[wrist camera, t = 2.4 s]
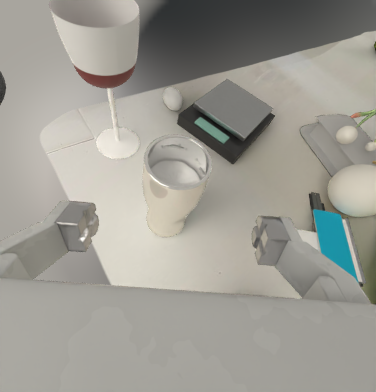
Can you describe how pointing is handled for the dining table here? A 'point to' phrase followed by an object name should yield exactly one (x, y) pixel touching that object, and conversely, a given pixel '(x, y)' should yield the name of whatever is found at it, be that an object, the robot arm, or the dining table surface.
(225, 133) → the scale
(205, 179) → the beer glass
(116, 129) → the wineglass
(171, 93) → the egg
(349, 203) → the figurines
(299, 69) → the dining table surface
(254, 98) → the scale pan
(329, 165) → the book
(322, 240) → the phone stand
